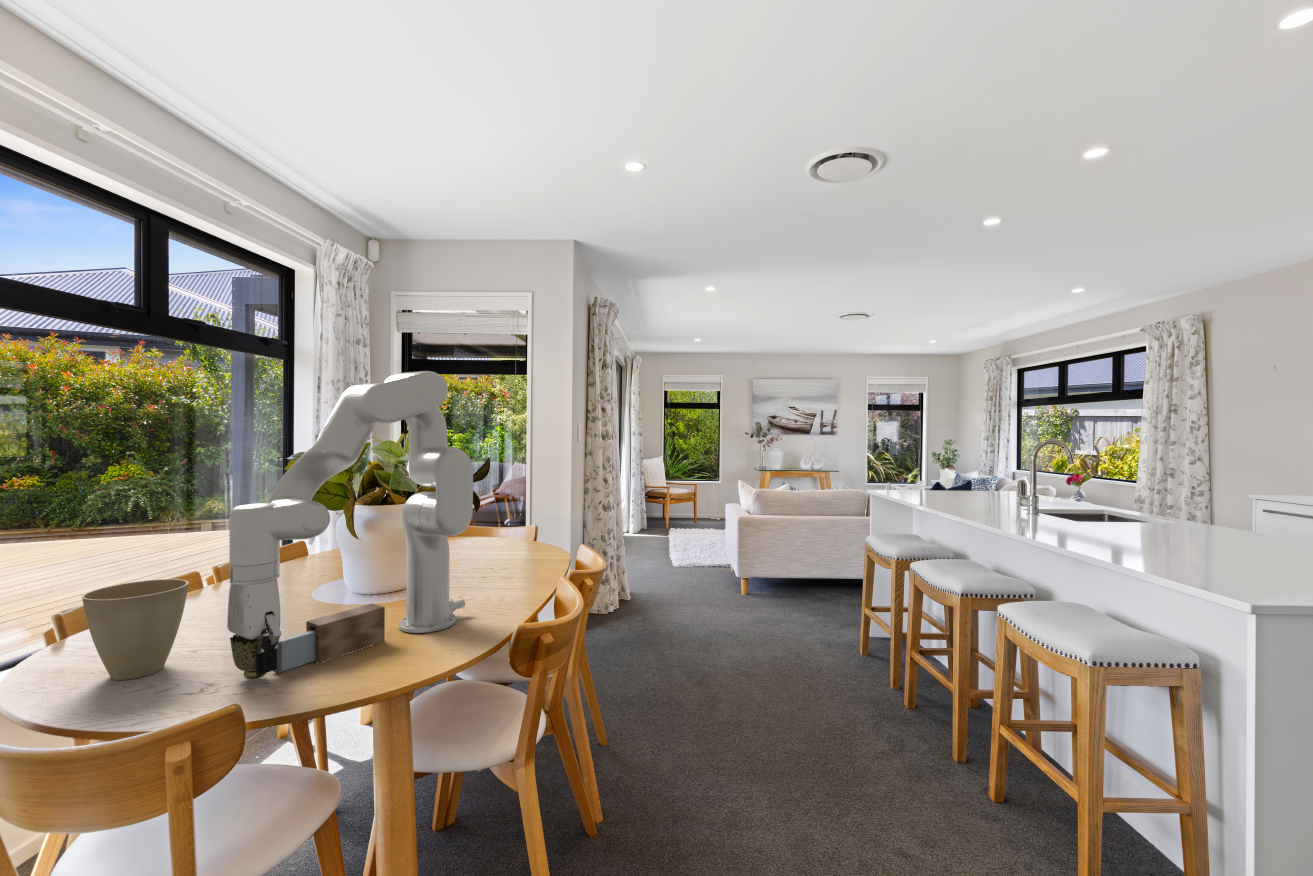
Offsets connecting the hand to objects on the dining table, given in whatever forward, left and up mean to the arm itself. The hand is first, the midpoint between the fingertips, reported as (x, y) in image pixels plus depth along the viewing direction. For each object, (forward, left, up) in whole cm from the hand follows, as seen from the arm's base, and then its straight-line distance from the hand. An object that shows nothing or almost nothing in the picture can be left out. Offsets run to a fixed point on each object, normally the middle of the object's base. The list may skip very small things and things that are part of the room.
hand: (256, 666), depth 104 cm
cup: (0, 0, -2) cm, 2 cm away
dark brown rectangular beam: (-17, 0, -2) cm, 17 cm away
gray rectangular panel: (-10, 0, -2) cm, 11 cm away
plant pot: (+10, -23, -3) cm, 25 cm away
